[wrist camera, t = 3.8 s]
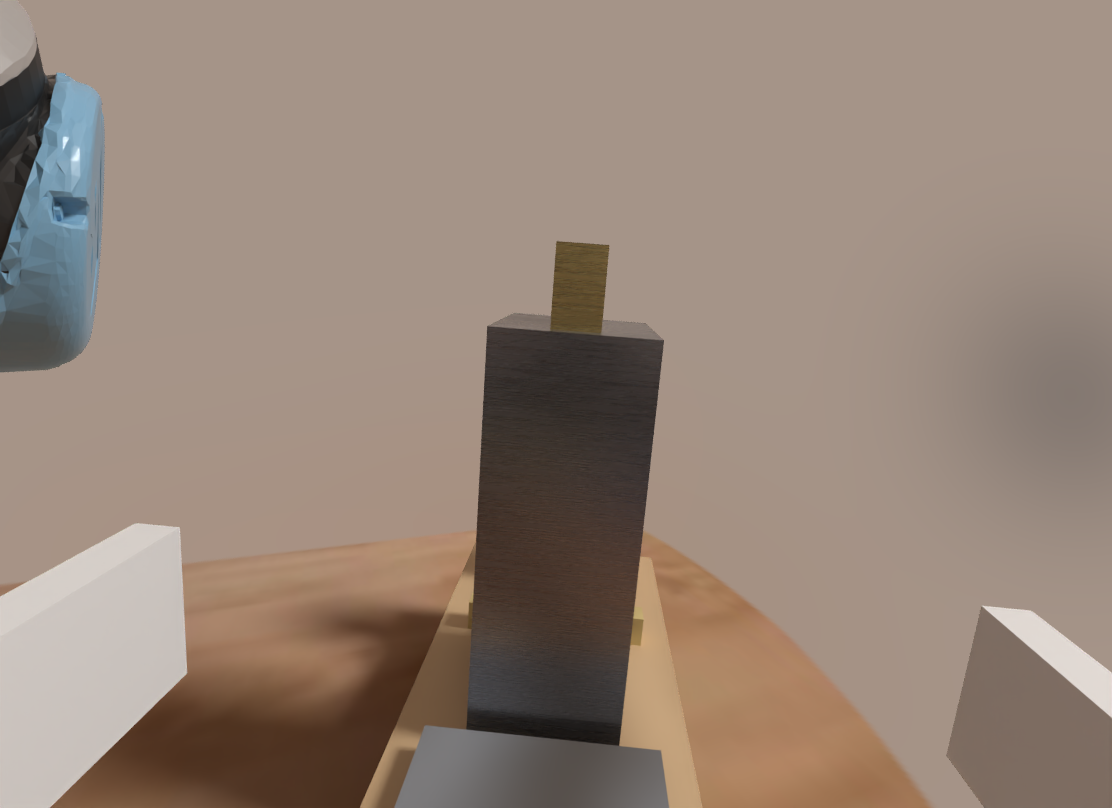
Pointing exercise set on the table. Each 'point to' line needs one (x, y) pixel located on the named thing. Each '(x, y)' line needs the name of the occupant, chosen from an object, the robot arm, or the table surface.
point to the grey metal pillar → (561, 510)
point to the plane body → (532, 762)
